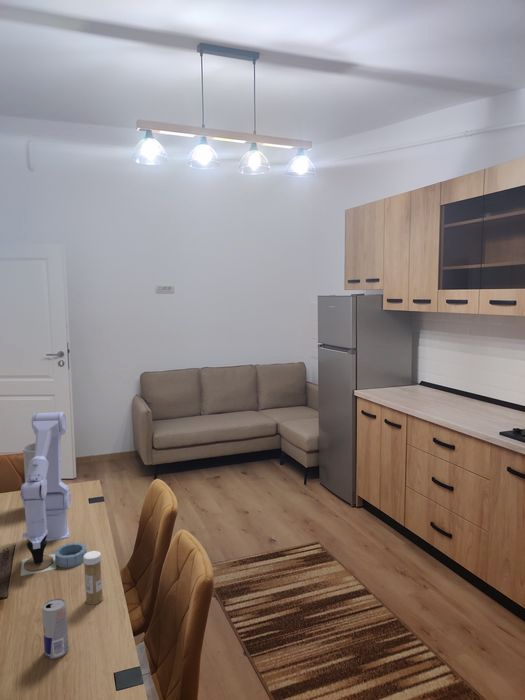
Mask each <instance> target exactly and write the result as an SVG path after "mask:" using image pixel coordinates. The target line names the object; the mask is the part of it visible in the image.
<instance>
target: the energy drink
mask: <svg viewBox="0 0 525 700" xmlns="http://www.w3.org/2000/svg"><path fill="white" fill-rule="evenodd" d="M67 613H68V612H67V603H66V601H65V599H63V598H53V599H49V600H47V601H46V602H44V603H43V606H42V609H41V617H42V632H43V647H44V656H45V657H46V658H48V659H50V660H52V659H53V660H54V659H58V658H59V659H60V658H62V657H63V656H65V654H67V652H68V651H69V649H70V646H69V632H68V631H69V628H68V614H67Z"/></svg>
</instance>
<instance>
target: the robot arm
mask: <svg viewBox="0 0 525 700" xmlns="http://www.w3.org/2000/svg"><path fill="white" fill-rule="evenodd" d="M31 428H32V430H33V433H34V435H35V442H34V443H35V454H34V458H33V459H31V460H30V462H29V467H28V472H27V477H26V482H25V481H24V482H23V483H22V484H21V487H20V499H21V501H22V507H24V515H25V528H26V529H25V531H26V532H24V533H22V538H23V539H26V538H27V541H28V542H26V547H27V549H28V550H29V552H30V553H31V555H32V557H33V560H34V563H35V564H38V563H42V561H43V555H44V553H45V552H44V551H45V549H46V546H47V544H48V542H51V541H58V540H64V539H69V538H70V529H69V525H68V516H67V515H68V514H67V511H68V510H69V509H70V507H71V503H72V494H71V489H70V486H69V485H66V483H64V482H63V481H62V453H61V452H62V451H61V449H62V448H61V447H62V446H61V445H62V443H61V441H62V436H63V435H66V433H67V416H66V414H65V412H64V411H59V412H58V411H57V412H55V411H54V412H34V414H32V418H31ZM32 557H31V558H32Z"/></svg>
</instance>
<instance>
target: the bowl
mask: <svg viewBox="0 0 525 700" xmlns="http://www.w3.org/2000/svg"><path fill="white" fill-rule="evenodd" d="M86 553H88V551H87V545H86V544H84V543H81V542H71V543H66V544H63V545H61V546H59V547H57V549H56V550H55V551H54V554H55V559H56V567H57V566H58V568H65V569H66V568H67V569H68V568H73V567H77V566H80V565H82V564H84V560H83V557H84V555H85V554H86Z"/></svg>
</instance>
